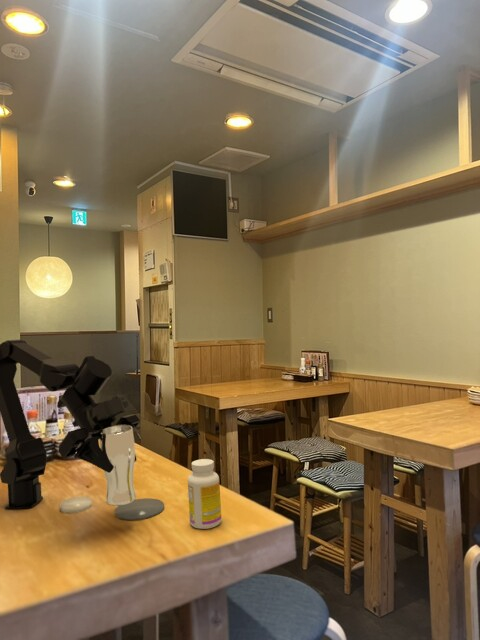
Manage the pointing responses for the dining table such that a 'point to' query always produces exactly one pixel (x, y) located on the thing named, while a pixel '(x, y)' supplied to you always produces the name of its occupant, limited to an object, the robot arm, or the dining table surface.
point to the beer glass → (119, 463)
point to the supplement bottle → (204, 495)
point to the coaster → (140, 509)
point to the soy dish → (75, 504)
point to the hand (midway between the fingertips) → (123, 466)
